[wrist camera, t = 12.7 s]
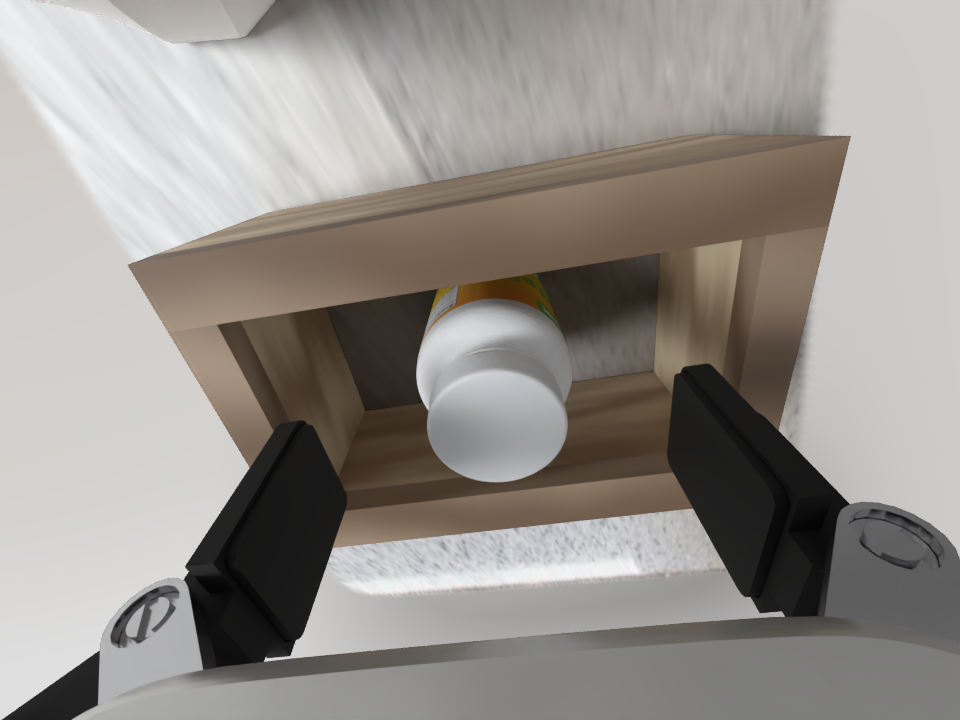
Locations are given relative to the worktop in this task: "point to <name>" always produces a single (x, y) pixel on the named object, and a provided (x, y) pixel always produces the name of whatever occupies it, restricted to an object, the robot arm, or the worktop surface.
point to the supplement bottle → (495, 378)
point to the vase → (179, 16)
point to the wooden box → (502, 254)
